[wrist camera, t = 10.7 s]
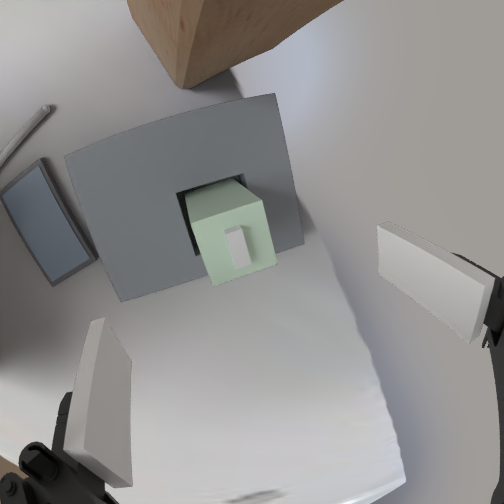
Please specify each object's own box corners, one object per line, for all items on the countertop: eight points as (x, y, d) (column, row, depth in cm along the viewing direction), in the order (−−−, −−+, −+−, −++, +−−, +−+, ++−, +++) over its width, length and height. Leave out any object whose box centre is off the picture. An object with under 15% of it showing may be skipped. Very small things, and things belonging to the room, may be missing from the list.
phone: (55, 283, 25) (52, 287, 25) (1, 191, 21) (-3, 193, 20) (98, 257, 26) (96, 260, 25) (43, 157, 21) (39, 158, 20)
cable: (-24, 202, 20) (-29, 204, 19) (-28, 196, 19) (-33, 198, 19) (53, 109, 20) (49, 109, 19) (48, 102, 19) (45, 102, 18)
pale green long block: (199, 238, 28) (214, 292, 19) (184, 193, 26) (191, 227, 17) (244, 223, 28) (281, 269, 19) (232, 178, 27) (265, 203, 17)
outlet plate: (124, 290, 28) (120, 302, 26) (72, 154, 22) (64, 156, 20) (294, 235, 30) (304, 244, 28) (266, 96, 24) (274, 92, 22)
